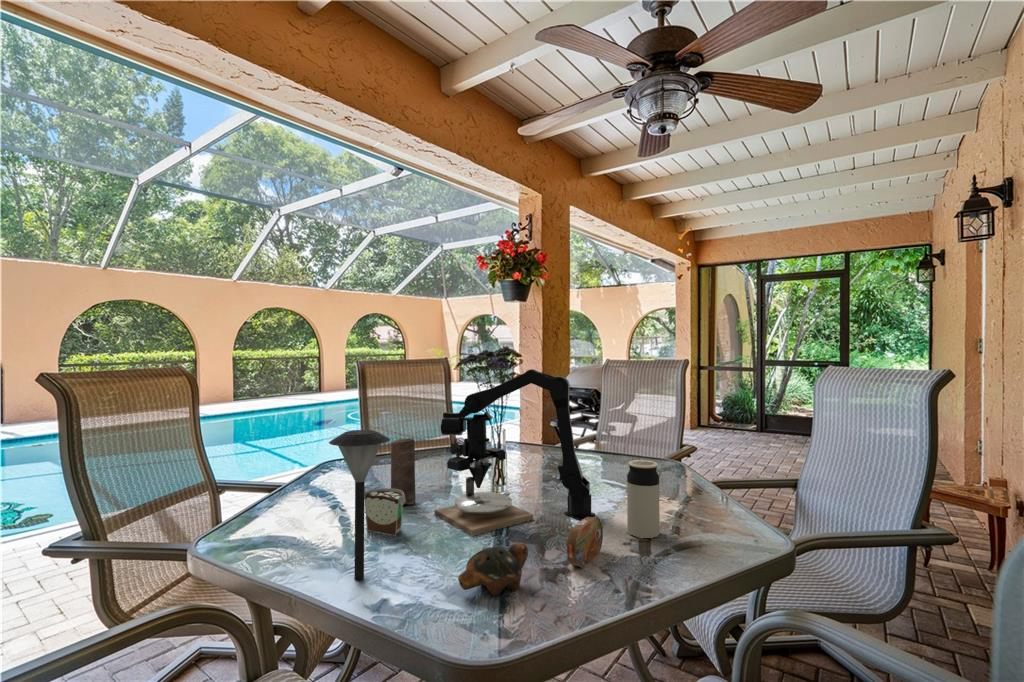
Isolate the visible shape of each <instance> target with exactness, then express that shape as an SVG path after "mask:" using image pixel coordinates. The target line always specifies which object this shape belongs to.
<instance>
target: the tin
mask: <svg viewBox="0 0 1024 682" xmlns="http://www.w3.org/2000/svg"><path fill="white" fill-rule="evenodd" d="M603 530H604V529H603V524H602V521H601V519H600V518H599V517H597V516H592V517H586V518H584V519H581V520H580V521H579V522H578V523H576V524H575V525H574V526H572V527H571V528H570V529H569V531H568V535H567V539H566V553H567V560H568V563H569V564H570V565H571V566H574V567H579V568H580V569H584V568H586V567H587V566H588V565H587V564H588V563H589V564H590V563H591V562H592V561H593V560H594V559H595V558H596V557H597V556H598V555H599V553H600V552H601V549H602V545H603V540H604V539H603V538H604V537H603V536H604V533H603V532H604V531H603ZM586 565H587V566H586ZM585 566H586V567H585Z"/></svg>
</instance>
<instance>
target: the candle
mask: <svg viewBox="0 0 1024 682" xmlns="http://www.w3.org/2000/svg"><path fill="white" fill-rule="evenodd" d="M415 449H416V448H415V438H411V437H409V438H406V437H403V438H402V437H401V438H398V439H396V440H393V441H391V442H390V488H391V489H398V490H401V491H403V493H404V495H405V499H406V502H405V503H404V504H403V505H415V504H416V459H415V457H416V456H415V455H416V453H415V452H416V451H415Z"/></svg>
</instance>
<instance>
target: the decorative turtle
mask: <svg viewBox="0 0 1024 682" xmlns="http://www.w3.org/2000/svg"><path fill="white" fill-rule="evenodd" d="M528 556H529V549H528V546H527V545H526V544H525V543H523V542H514V543H512V544H511V545H510V546H509V548H508V550H507V549H505V548H503V547H502V546H492V547H488V548H484V549H482V550H480V551H478V552H476V553H474V554H473V555H472V556H471V557H470V558H469V559H468V560H467V563H466V564H465V565H466V566H465V570H464V571H463V572H462V573H460V574H459V575H458V578H457V579H458V583H459V586H460V587H461V589H463V590H464V591H465V590H470V589H474V588H477V587H480V586H481V587H486V588H487V589H488V591H489V593H490V594H491V596H492V597H497V596H499V595H500V593H502V591H503V590H504V589H505V588H506V587H507V588H508V589H509V590H511V592H515V591H517V590H518V589H519V587H520V584H521V581H522V572H523V570H522V569H523V567H524V565H525V564H526V561H527V559H528Z"/></svg>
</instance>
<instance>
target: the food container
mask: <svg viewBox="0 0 1024 682" xmlns="http://www.w3.org/2000/svg"><path fill="white" fill-rule="evenodd" d="M405 502H406V499H405V495H404V493H403V491H401V490H398V489H391V487H390V488H384V487H383V488H374V489H368V490H366V491H365V494H364V512H365V522H366V531H367V530H369V531H368V532H370V531H374V532H373V533H376V532H379V533H378V534H381V533H384V534H383V535H386V534H388V535H387V536H391V535H394V536H393V537H397V536H399V535H400V534H401V527H402V517H403V509H404V505H405V504H404V503H405ZM399 533H400V534H399ZM398 534H399V535H398Z"/></svg>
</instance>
